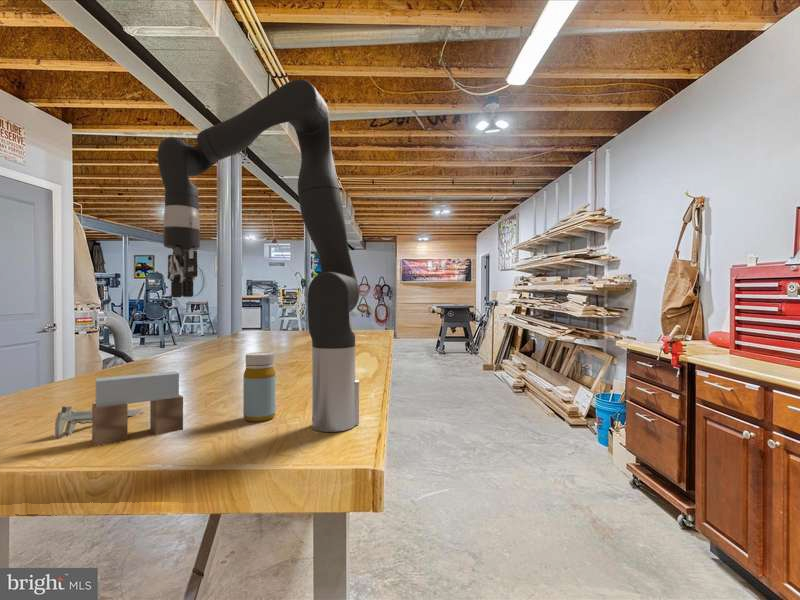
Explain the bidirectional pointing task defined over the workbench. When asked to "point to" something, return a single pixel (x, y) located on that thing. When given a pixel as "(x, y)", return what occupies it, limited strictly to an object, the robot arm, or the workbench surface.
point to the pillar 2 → (166, 415)
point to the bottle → (259, 387)
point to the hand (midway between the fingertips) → (181, 297)
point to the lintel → (136, 388)
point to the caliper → (77, 419)
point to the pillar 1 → (109, 424)
